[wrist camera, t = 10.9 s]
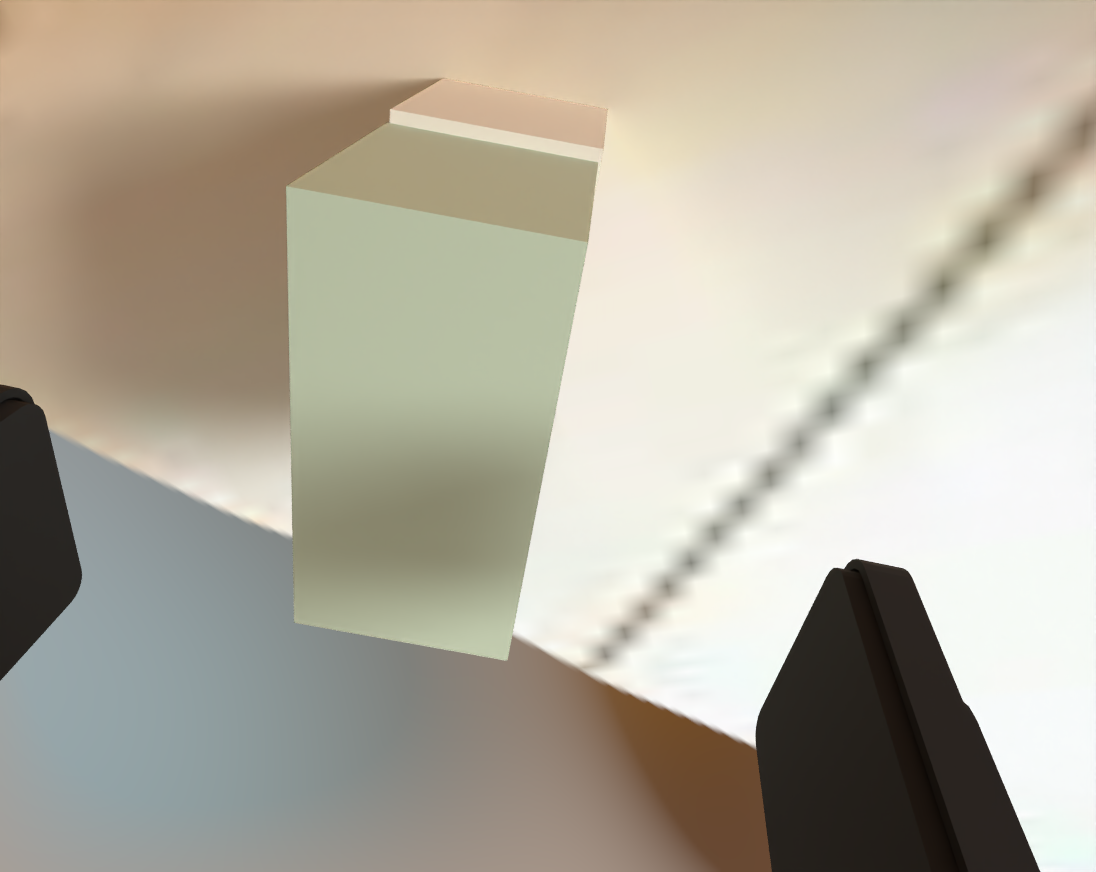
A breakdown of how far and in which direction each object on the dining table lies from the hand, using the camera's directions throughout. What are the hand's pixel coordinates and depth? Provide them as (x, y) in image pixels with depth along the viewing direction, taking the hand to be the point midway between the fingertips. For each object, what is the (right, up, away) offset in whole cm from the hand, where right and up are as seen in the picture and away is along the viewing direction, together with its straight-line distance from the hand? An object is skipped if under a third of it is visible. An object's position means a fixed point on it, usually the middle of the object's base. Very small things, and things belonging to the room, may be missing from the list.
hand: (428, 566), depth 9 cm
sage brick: (0, +4, +7) cm, 8 cm away
